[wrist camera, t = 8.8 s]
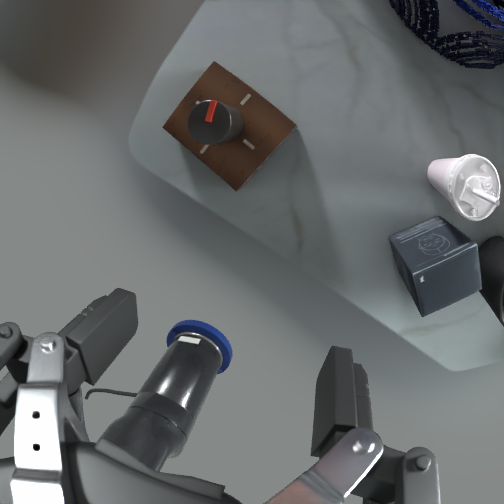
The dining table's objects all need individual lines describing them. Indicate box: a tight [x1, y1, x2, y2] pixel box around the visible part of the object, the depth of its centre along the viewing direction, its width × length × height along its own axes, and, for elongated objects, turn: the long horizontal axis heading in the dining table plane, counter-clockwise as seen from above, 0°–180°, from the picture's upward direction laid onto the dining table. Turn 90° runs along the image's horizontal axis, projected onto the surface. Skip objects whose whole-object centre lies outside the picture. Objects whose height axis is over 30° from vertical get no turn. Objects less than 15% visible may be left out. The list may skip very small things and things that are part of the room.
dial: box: [188, 100, 244, 145], centre depth 27 cm, size 4×4×5 cm
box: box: [389, 215, 482, 317], centre depth 27 cm, size 8×6×11 cm
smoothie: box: [427, 154, 500, 221], centre depth 22 cm, size 6×6×14 cm
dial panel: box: [163, 61, 298, 191], centre depth 30 cm, size 10×12×3 cm
